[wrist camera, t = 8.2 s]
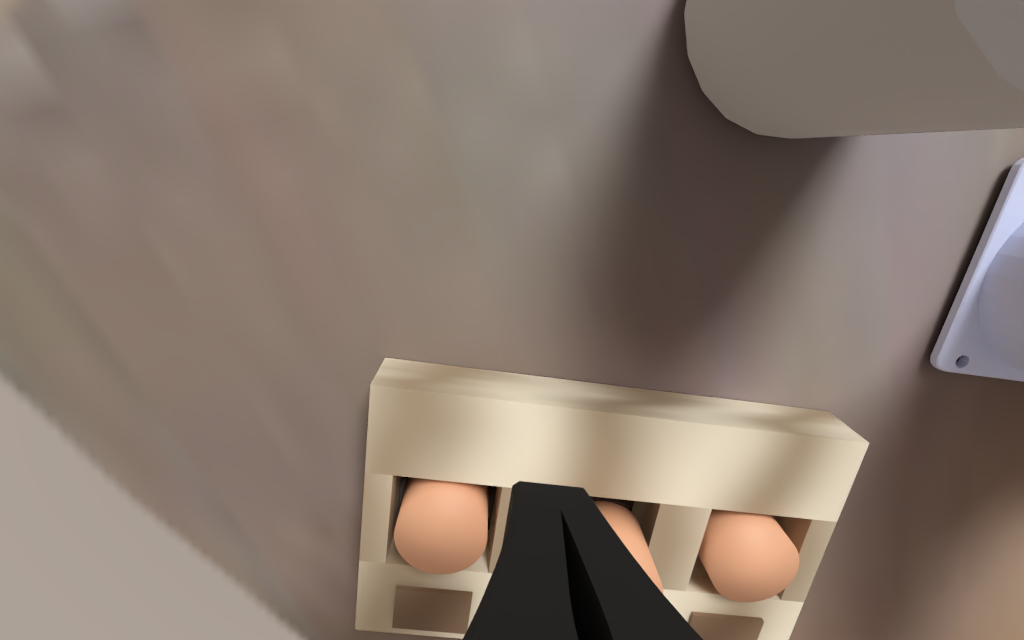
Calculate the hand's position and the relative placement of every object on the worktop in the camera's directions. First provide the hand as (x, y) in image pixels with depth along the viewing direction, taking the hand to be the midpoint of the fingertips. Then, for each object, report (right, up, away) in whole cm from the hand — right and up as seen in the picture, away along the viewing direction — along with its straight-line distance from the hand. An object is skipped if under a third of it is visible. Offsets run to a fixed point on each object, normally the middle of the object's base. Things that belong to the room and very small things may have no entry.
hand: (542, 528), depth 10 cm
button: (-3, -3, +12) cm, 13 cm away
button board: (+3, -4, +12) cm, 13 cm away
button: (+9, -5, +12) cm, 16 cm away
